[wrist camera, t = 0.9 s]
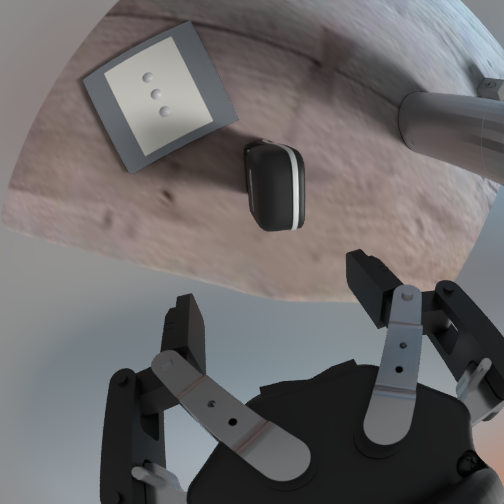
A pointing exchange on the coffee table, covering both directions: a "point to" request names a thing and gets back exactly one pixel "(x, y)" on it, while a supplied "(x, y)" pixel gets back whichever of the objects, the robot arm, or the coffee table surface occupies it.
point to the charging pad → (159, 96)
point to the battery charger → (275, 185)
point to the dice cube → (492, 89)
